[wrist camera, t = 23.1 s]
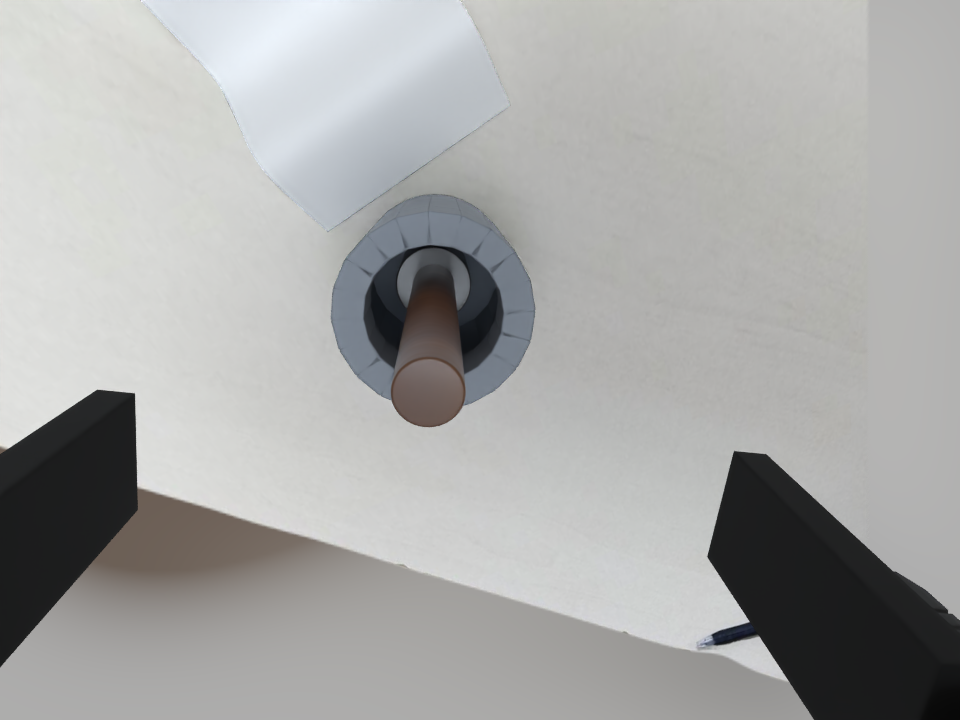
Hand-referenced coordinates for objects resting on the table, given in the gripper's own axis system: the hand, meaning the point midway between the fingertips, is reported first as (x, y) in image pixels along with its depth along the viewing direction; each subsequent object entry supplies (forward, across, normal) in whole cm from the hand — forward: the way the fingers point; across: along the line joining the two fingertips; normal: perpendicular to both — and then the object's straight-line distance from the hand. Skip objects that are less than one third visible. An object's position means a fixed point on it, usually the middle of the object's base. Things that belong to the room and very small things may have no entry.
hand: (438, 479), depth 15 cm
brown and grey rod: (+27, -1, 0) cm, 27 cm away
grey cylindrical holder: (+28, 0, 0) cm, 28 cm away
